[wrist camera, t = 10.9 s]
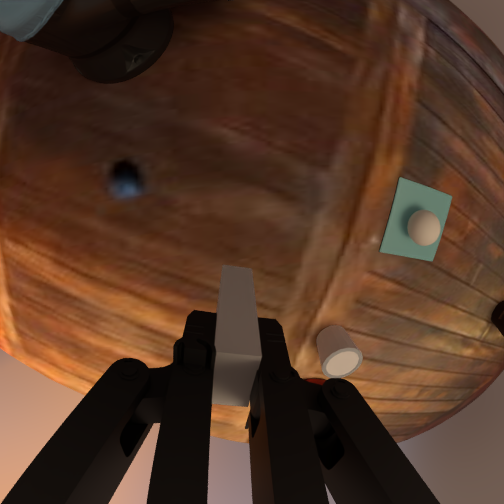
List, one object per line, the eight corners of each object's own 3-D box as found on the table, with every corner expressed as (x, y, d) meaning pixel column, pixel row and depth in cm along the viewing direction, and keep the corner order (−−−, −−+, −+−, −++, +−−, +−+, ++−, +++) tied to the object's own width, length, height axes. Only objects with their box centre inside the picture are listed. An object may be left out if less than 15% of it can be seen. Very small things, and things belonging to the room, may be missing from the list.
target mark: (399, 177, 37) (399, 177, 37) (451, 196, 38) (452, 196, 38) (379, 251, 41) (379, 251, 41) (431, 260, 43) (432, 261, 43)
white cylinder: (318, 321, 46) (329, 348, 39) (354, 322, 46) (368, 347, 40) (308, 352, 48) (317, 379, 42) (343, 352, 49) (354, 377, 42)
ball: (411, 203, 40) (414, 207, 35) (441, 213, 38) (447, 219, 33) (402, 235, 42) (404, 243, 37) (431, 245, 40) (436, 254, 35)
